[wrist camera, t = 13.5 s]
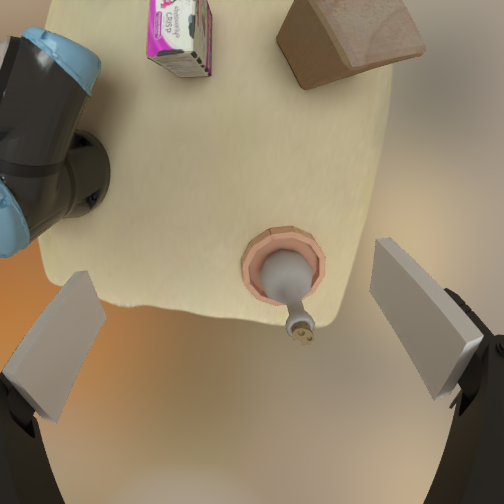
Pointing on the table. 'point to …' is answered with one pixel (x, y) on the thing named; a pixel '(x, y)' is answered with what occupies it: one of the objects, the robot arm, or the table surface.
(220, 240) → the table surface
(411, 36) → the wooden block
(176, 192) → the table surface
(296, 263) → the potion bottle
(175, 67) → the candy bar box
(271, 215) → the table surface
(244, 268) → the saucer
